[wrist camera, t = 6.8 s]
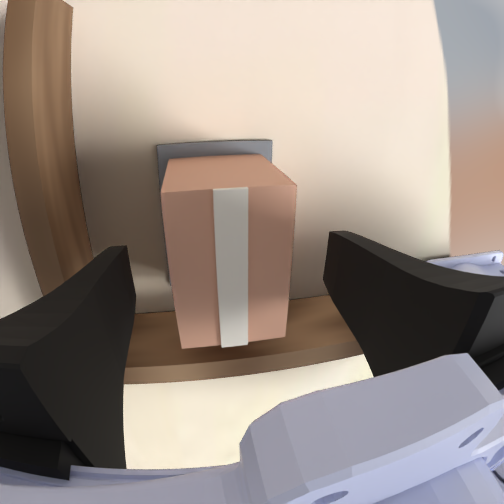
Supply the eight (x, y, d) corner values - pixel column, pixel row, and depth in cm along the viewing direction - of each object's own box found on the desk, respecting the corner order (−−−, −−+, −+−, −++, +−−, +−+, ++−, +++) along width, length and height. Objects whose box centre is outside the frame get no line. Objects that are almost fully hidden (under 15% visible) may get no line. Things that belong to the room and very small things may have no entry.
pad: (271, 140, 14) (272, 141, 14) (266, 275, 17) (267, 277, 17) (157, 144, 13) (156, 145, 13) (170, 283, 16) (170, 285, 16)
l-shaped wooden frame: (383, 15, 12) (435, 4, 8) (351, 307, 20) (380, 349, 16) (49, 14, 9) (8, -6, 5) (94, 332, 17) (81, 384, 13)
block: (258, 271, 17) (286, 339, 12) (180, 278, 16) (182, 351, 12) (260, 154, 14) (298, 186, 9) (169, 158, 13) (159, 194, 9)
